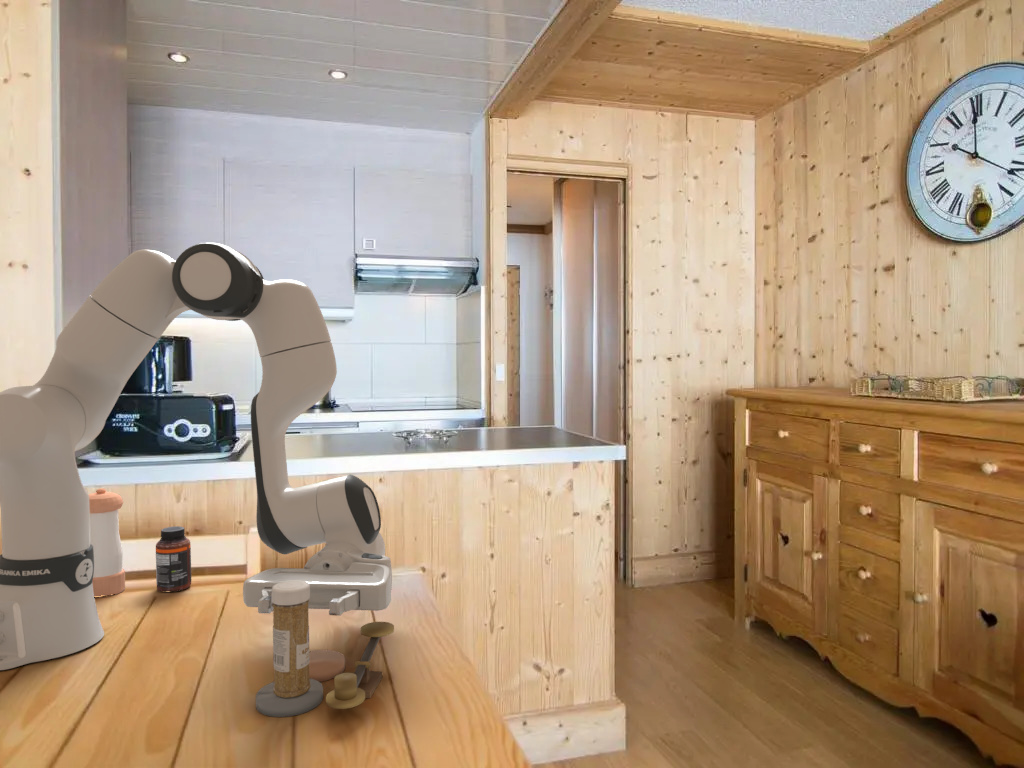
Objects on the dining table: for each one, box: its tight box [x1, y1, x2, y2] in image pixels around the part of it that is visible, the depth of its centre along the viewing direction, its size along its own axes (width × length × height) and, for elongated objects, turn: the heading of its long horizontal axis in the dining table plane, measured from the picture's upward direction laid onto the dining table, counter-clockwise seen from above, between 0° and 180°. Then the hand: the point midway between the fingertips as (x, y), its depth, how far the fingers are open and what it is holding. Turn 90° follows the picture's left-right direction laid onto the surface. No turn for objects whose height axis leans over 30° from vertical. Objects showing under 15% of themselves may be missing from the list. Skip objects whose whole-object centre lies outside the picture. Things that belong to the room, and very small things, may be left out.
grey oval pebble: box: [255, 678, 324, 718], centre depth 89 cm, size 8×8×1 cm
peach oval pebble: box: [309, 649, 346, 683], centre depth 98 cm, size 8×8×1 cm
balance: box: [325, 621, 395, 710], centre depth 93 cm, size 5×19×5 cm, turn 176°
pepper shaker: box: [88, 487, 126, 596], centre depth 131 cm, size 7×7×19 cm
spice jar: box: [272, 580, 311, 698], centre depth 89 cm, size 5×5×13 cm
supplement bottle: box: [155, 526, 192, 592], centre depth 133 cm, size 6×6×11 cm
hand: (298, 608), depth 92 cm, fingers open, 8 cm apart
